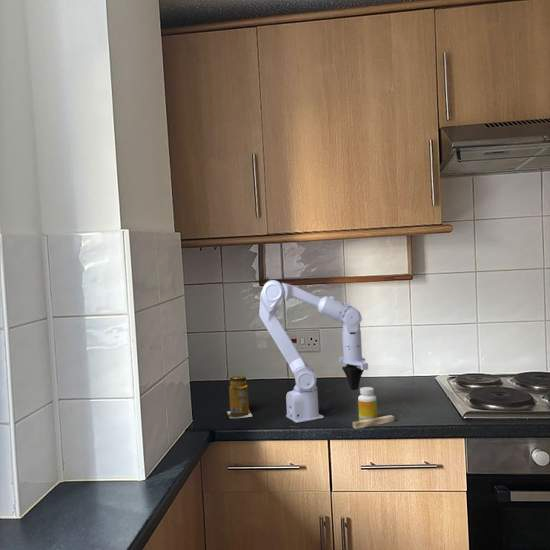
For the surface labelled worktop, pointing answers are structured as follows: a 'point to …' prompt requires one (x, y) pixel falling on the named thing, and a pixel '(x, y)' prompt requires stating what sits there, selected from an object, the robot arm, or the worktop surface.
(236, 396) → the condiment
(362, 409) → the supplement bottle
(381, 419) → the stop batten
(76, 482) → the worktop surface
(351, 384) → the robot arm
